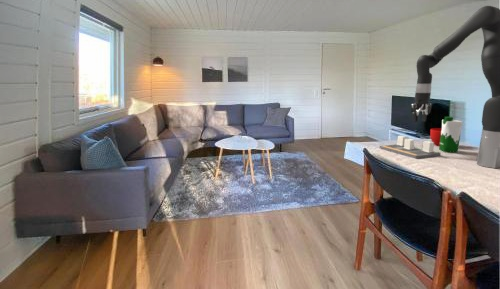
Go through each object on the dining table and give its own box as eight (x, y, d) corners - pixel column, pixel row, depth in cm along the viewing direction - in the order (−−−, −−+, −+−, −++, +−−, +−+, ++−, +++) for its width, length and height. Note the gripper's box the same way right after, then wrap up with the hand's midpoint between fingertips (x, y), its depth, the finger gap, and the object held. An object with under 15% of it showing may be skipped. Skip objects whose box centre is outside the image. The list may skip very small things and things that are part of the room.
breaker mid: (414, 149, 168) (415, 139, 167) (409, 149, 167) (410, 140, 166) (407, 147, 172) (408, 138, 171) (403, 148, 171) (404, 139, 170)
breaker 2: (433, 152, 161) (434, 142, 160) (428, 152, 160) (429, 142, 159) (426, 150, 165) (427, 140, 164) (421, 151, 164) (422, 141, 163)
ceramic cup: (464, 147, 179) (466, 131, 177) (434, 147, 181) (436, 131, 179) (452, 143, 191) (454, 128, 189) (425, 142, 193) (426, 128, 191)
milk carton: (436, 149, 176) (441, 116, 172) (453, 149, 174) (458, 116, 170) (442, 152, 168) (447, 117, 164) (460, 153, 166) (465, 118, 162)
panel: (440, 155, 161) (440, 152, 161) (415, 158, 155) (416, 155, 155) (402, 145, 185) (402, 143, 185) (379, 148, 179) (379, 145, 179)
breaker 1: (406, 145, 178) (407, 136, 177) (402, 146, 177) (403, 137, 176) (400, 144, 182) (401, 135, 181) (396, 144, 181) (397, 135, 180)
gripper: (419, 92, 159) (415, 123, 163) (438, 91, 164) (434, 121, 167) (407, 92, 166) (404, 121, 170) (426, 91, 171) (423, 120, 174)
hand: (419, 121), depth 168 cm, fingers open, 5 cm apart
